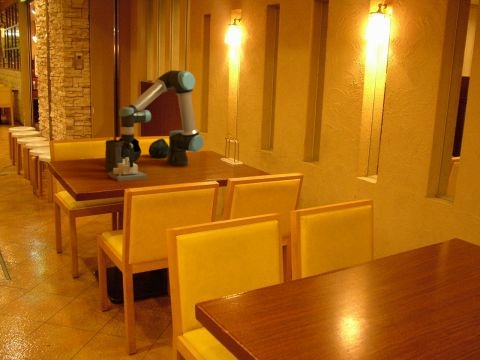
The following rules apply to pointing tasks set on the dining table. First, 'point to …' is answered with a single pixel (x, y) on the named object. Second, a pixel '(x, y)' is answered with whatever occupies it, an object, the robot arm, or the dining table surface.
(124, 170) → the square ring
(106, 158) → the beer stein
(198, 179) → the dining table surface
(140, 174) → the post board
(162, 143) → the squash
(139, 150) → the coal bowl
